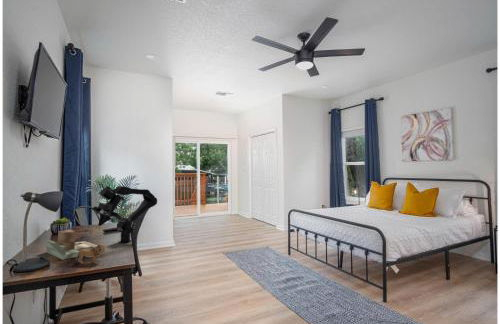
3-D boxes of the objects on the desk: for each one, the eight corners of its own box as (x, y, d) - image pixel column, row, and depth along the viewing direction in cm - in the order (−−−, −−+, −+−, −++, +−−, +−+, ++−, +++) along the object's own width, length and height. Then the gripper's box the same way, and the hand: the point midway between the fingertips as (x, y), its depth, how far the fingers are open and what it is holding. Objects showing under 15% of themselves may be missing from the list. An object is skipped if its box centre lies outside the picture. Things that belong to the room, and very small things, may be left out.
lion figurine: (105, 259, 154) (106, 242, 154) (103, 263, 149) (104, 245, 149) (74, 262, 150) (74, 244, 150) (71, 265, 145) (71, 247, 145)
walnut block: (69, 246, 169) (69, 229, 169) (74, 249, 165) (75, 231, 165) (57, 249, 164) (58, 231, 165) (62, 251, 160) (63, 232, 160)
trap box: (84, 245, 183) (84, 234, 183) (101, 251, 169) (102, 240, 170) (46, 252, 167) (46, 240, 167) (62, 259, 153) (63, 247, 153)
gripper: (94, 194, 182) (79, 216, 174) (118, 201, 177) (103, 224, 169) (104, 202, 191) (90, 223, 184) (127, 209, 186) (113, 231, 178)
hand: (99, 225), depth 178 cm, fingers closed
